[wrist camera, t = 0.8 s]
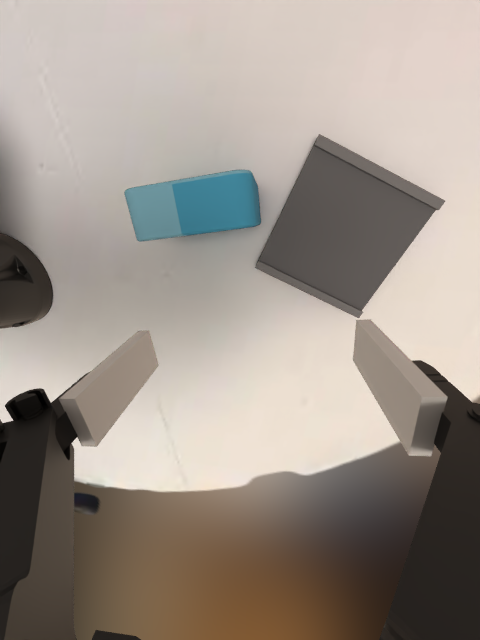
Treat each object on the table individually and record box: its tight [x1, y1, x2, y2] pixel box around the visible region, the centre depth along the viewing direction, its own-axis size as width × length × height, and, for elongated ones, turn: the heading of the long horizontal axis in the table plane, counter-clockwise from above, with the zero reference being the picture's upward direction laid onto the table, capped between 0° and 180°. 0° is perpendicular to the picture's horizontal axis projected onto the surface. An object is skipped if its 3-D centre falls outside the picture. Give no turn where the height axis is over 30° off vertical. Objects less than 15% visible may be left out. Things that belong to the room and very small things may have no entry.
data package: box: [125, 170, 261, 242], centre depth 26 cm, size 12×4×12 cm, turn 97°
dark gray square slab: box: [255, 134, 445, 318], centre depth 30 cm, size 16×16×2 cm
